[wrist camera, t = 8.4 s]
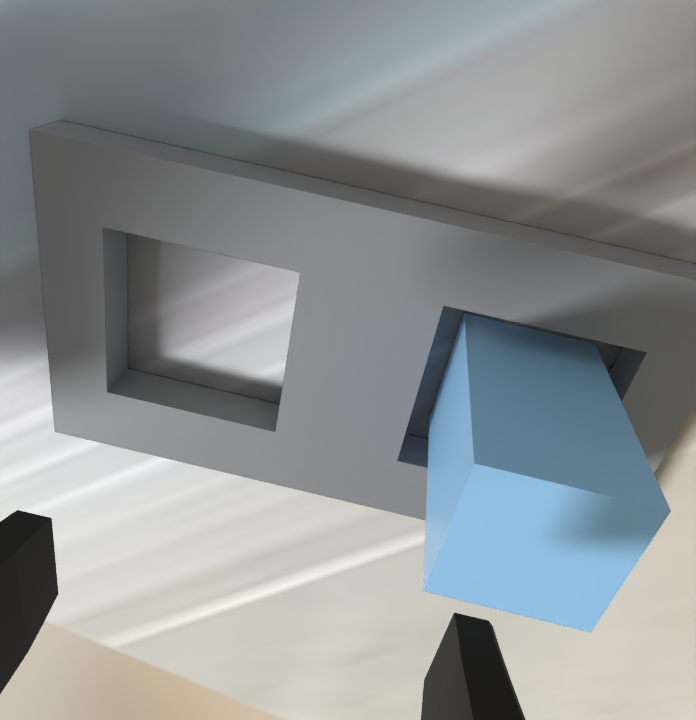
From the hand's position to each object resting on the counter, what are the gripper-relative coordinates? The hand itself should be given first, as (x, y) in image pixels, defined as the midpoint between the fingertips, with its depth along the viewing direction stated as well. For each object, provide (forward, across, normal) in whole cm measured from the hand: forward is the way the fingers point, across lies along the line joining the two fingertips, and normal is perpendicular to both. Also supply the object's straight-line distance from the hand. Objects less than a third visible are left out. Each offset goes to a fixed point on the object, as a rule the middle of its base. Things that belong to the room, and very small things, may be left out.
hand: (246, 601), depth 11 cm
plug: (+10, -6, 0) cm, 11 cm away
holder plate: (+10, -1, 0) cm, 10 cm away
